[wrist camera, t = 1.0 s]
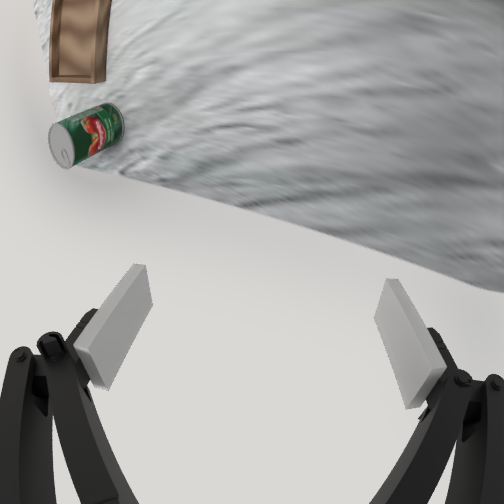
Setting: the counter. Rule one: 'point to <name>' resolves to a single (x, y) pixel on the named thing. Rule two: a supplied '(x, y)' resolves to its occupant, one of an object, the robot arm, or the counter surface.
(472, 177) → the counter surface
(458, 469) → the robot arm
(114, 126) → the canned tomato
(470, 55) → the counter surface
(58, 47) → the walnut tray
